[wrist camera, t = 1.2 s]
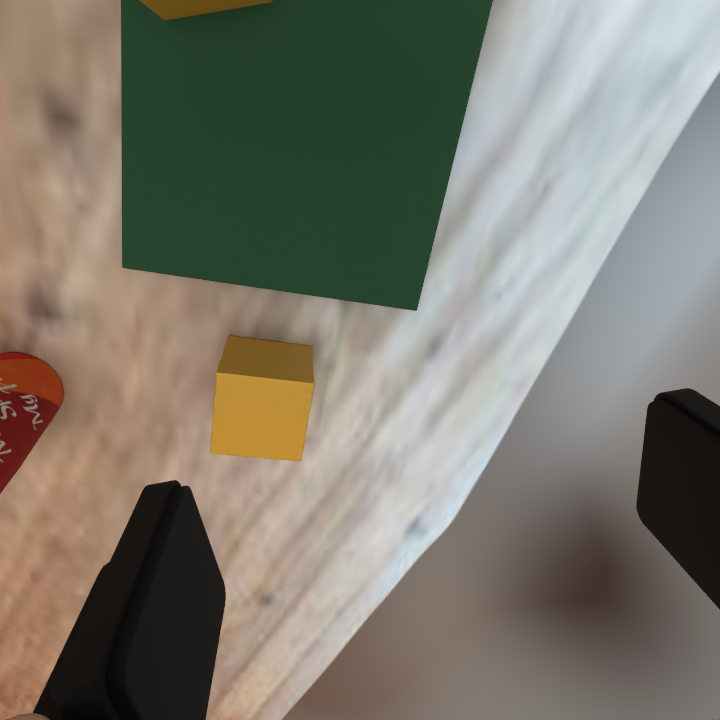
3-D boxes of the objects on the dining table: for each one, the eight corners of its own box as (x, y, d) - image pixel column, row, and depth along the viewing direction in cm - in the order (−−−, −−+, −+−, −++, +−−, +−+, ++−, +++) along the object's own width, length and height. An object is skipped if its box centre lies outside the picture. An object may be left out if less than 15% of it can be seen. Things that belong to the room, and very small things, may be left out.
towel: (124, 265, 33) (122, 268, 32) (124, -178, 24) (120, -185, 23) (415, 308, 36) (416, 311, 36) (505, -64, 28) (509, -68, 27)
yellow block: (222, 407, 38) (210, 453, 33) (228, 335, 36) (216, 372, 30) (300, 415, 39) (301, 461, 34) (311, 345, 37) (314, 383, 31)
